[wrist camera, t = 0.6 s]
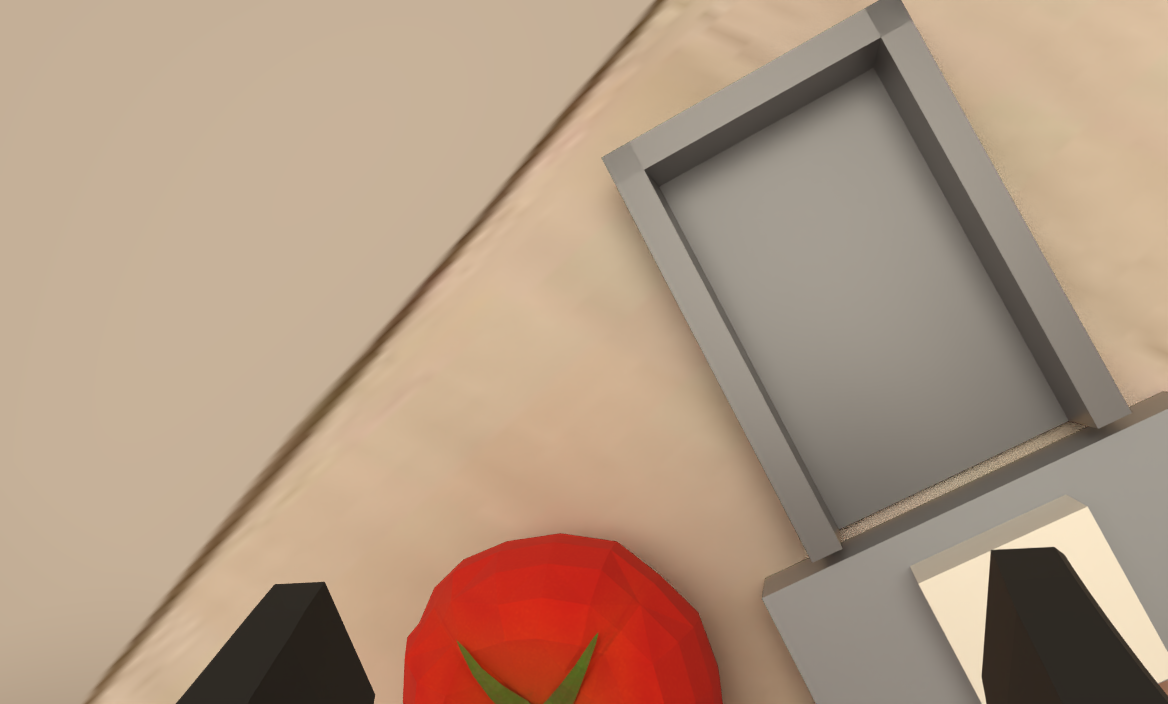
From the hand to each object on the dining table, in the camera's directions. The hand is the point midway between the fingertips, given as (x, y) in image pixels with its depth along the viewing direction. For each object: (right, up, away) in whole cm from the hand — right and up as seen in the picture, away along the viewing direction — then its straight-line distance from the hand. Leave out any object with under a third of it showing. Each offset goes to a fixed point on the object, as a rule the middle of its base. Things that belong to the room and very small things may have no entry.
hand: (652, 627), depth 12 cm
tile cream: (+12, -5, +20) cm, 24 cm away
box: (+8, +5, +24) cm, 26 cm away
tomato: (-1, -8, +26) cm, 27 cm away
